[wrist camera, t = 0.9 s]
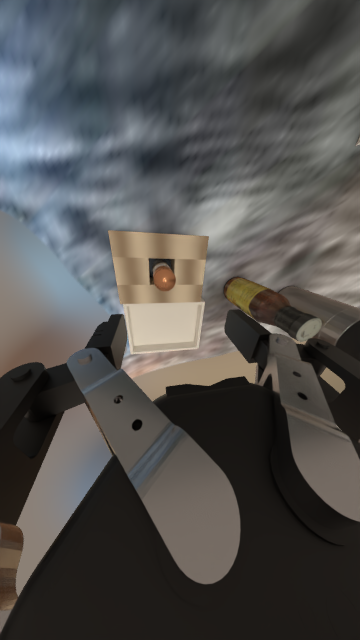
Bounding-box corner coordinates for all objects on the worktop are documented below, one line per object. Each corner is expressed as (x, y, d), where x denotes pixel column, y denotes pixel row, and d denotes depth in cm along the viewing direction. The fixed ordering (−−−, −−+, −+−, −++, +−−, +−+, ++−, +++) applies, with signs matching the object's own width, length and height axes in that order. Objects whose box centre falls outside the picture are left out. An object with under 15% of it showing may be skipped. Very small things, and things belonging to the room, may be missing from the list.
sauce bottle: (219, 299, 38) (277, 349, 21) (226, 274, 35) (300, 309, 18) (241, 300, 39) (312, 348, 22) (250, 277, 36) (338, 312, 19)
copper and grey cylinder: (167, 258, 31) (176, 269, 20) (167, 274, 32) (175, 291, 22) (152, 258, 30) (153, 269, 20) (152, 274, 32) (154, 291, 21)
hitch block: (198, 236, 30) (208, 236, 25) (193, 292, 36) (200, 302, 30) (116, 231, 27) (108, 230, 22) (124, 293, 33) (120, 304, 28)
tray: (200, 296, 36) (204, 301, 33) (194, 340, 43) (198, 348, 40) (125, 297, 33) (123, 303, 30) (132, 345, 40) (131, 354, 37)
